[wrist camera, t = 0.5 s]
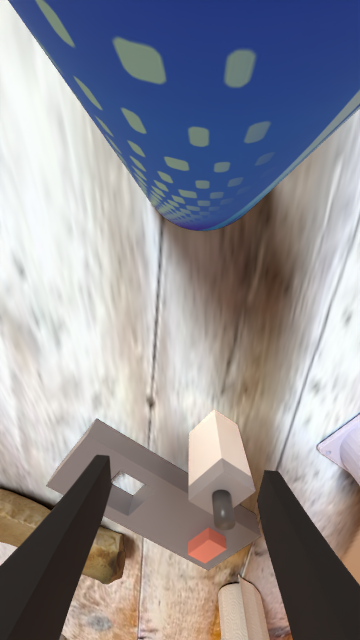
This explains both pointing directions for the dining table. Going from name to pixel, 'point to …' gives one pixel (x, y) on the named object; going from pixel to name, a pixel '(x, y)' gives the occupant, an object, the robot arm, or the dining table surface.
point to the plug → (218, 469)
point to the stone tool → (25, 515)
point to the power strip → (156, 499)
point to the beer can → (206, 90)
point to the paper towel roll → (241, 612)
